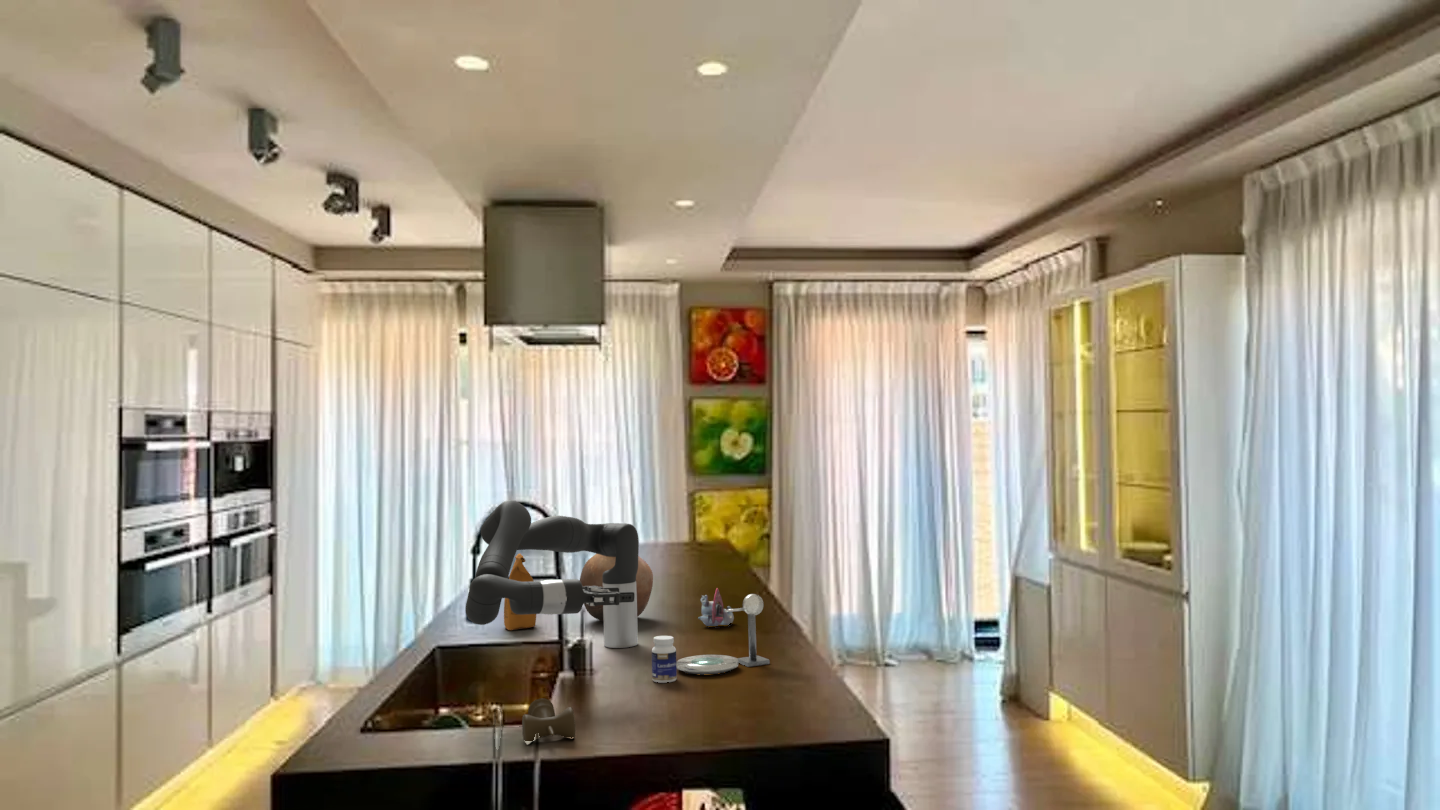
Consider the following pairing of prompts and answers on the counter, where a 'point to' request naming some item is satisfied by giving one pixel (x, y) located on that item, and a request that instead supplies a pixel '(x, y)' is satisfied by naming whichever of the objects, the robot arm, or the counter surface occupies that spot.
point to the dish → (707, 664)
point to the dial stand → (752, 629)
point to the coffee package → (510, 618)
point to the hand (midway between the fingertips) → (626, 594)
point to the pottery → (593, 577)
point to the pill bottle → (664, 660)
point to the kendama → (547, 721)
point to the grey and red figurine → (715, 611)
